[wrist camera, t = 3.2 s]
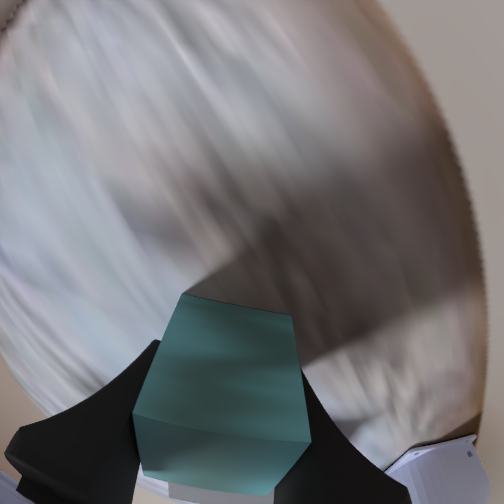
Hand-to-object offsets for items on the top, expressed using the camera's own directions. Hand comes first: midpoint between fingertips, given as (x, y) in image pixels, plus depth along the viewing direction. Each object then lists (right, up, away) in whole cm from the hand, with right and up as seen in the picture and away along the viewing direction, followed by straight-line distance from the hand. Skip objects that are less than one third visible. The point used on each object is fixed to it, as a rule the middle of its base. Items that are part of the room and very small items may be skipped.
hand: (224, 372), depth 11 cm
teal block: (0, +1, +2) cm, 2 cm away
